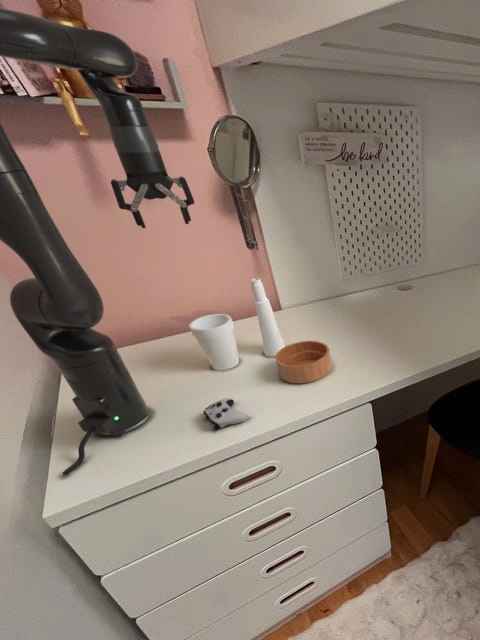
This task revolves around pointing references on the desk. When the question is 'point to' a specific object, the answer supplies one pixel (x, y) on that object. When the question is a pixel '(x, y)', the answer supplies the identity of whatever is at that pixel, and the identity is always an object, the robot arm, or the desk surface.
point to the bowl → (304, 361)
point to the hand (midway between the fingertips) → (166, 225)
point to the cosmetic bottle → (266, 320)
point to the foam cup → (216, 340)
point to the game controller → (224, 413)
